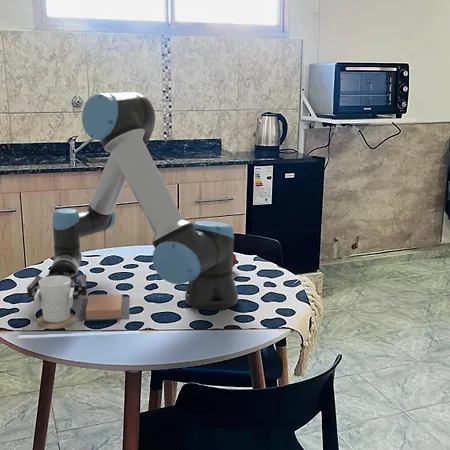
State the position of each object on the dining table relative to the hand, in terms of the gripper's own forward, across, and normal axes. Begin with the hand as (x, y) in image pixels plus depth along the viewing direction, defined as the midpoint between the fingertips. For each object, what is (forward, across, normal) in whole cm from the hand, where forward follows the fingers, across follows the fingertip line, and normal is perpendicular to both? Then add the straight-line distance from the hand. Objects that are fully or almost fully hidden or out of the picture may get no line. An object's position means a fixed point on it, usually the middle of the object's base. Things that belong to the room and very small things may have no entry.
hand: (53, 302), depth 145 cm
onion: (-42, -50, -8) cm, 66 cm away
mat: (-12, -12, -8) cm, 18 cm away
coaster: (-5, 0, -8) cm, 9 cm away
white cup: (-5, 0, -6) cm, 8 cm away
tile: (-16, -12, -6) cm, 20 cm away
